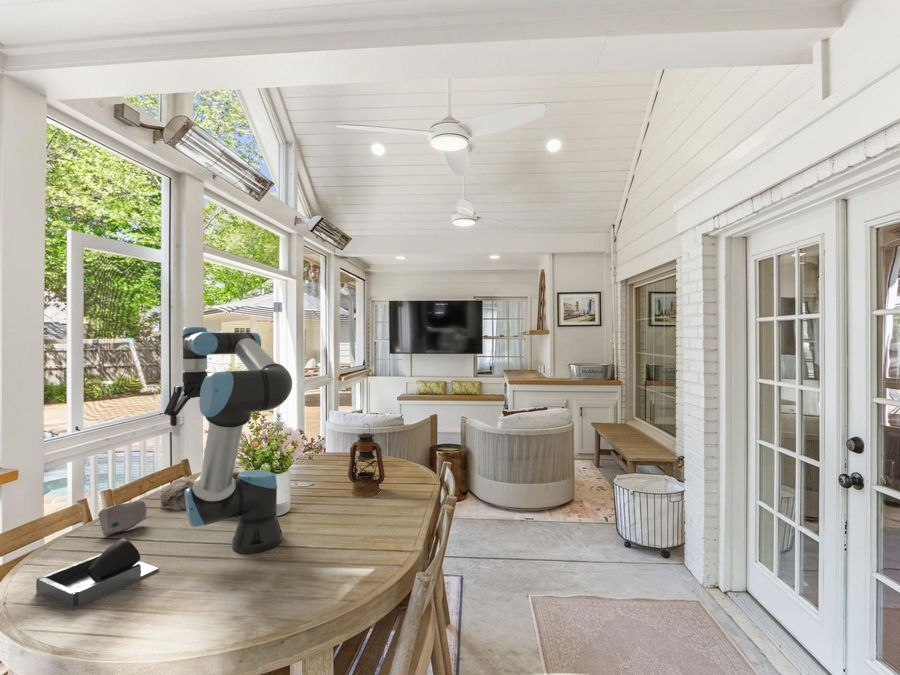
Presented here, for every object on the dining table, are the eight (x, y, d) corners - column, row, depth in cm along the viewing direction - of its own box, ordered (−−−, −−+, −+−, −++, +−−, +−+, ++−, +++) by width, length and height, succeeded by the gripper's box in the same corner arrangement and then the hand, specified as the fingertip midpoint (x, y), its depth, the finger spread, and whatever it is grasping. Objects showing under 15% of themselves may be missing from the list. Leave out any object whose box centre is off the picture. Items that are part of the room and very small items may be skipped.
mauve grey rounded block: (101, 538, 152) (103, 537, 149) (97, 510, 154) (99, 508, 150) (147, 524, 162) (150, 522, 158) (143, 497, 164) (146, 495, 160)
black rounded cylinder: (102, 598, 122) (136, 570, 130) (107, 582, 116) (142, 553, 124) (81, 577, 123) (116, 550, 131) (84, 560, 116) (121, 533, 124)
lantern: (389, 488, 201) (389, 421, 201) (379, 498, 189) (379, 426, 189) (353, 485, 204) (353, 420, 204) (341, 495, 192) (341, 425, 192)
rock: (204, 498, 189) (204, 474, 189) (199, 508, 178) (199, 483, 178) (163, 502, 184) (163, 478, 184) (155, 513, 172) (155, 487, 172)
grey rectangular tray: (159, 571, 129) (159, 556, 129) (72, 611, 110) (72, 594, 110) (123, 559, 136) (123, 545, 136) (36, 594, 117) (36, 578, 117)
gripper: (219, 368, 170) (219, 424, 170) (151, 373, 147) (151, 437, 147) (233, 368, 167) (233, 425, 167) (166, 373, 144) (166, 439, 144)
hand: (194, 431), depth 157 cm, fingers open, 13 cm apart
